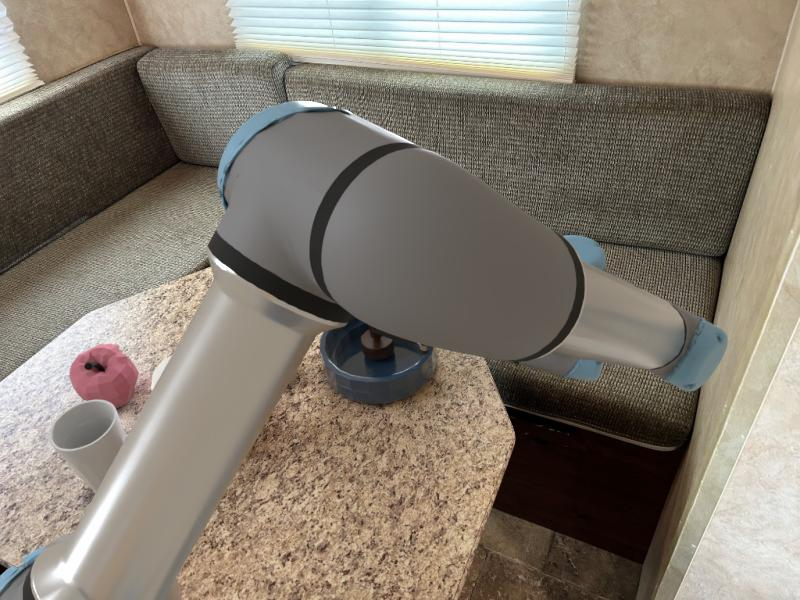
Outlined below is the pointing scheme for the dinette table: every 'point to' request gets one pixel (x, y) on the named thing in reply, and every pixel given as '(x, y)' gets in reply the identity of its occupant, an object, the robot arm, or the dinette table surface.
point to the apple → (104, 375)
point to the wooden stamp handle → (376, 345)
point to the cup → (88, 439)
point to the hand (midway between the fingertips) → (339, 294)
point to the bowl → (372, 366)
